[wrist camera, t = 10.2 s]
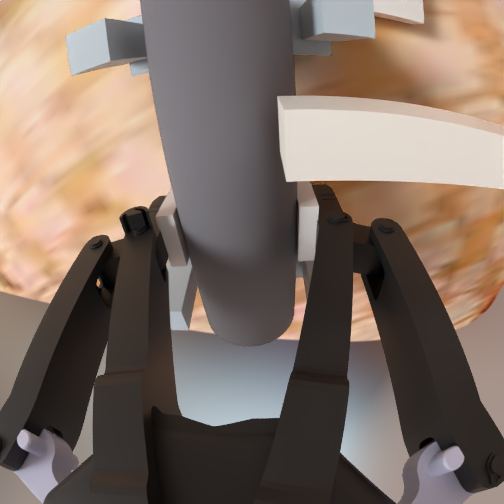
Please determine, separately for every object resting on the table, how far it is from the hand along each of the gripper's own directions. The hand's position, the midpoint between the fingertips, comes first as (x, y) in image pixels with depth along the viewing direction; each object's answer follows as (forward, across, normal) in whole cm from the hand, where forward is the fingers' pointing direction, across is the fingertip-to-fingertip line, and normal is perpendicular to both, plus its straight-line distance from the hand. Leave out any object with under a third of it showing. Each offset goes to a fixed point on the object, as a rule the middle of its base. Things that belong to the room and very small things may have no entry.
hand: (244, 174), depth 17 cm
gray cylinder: (-3, 0, +2) cm, 3 cm away
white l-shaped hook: (-8, +7, +5) cm, 12 cm away
